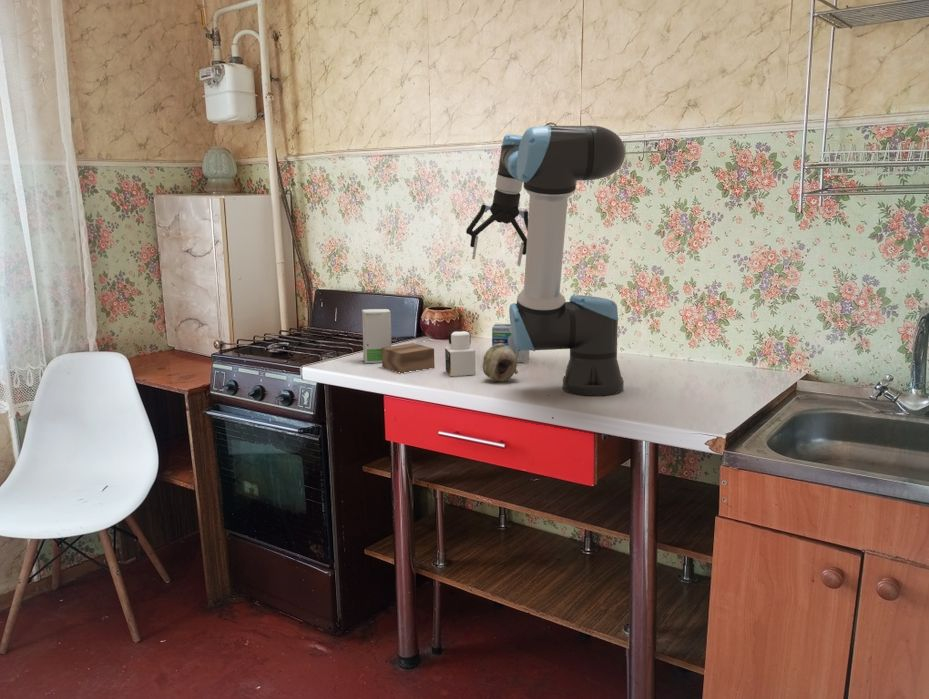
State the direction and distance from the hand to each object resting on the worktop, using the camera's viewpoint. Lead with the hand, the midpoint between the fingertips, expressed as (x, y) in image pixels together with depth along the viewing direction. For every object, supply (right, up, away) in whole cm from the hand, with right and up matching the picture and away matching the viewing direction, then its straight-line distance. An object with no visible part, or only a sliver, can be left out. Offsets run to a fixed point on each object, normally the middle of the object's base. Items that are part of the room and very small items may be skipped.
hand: (496, 261), depth 223 cm
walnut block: (-26, -32, -6) cm, 41 cm away
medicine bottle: (-11, -33, -15) cm, 38 cm away
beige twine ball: (0, -35, -24) cm, 42 cm away
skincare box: (-36, -30, +4) cm, 47 cm away
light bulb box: (+4, -30, +1) cm, 30 cm away
